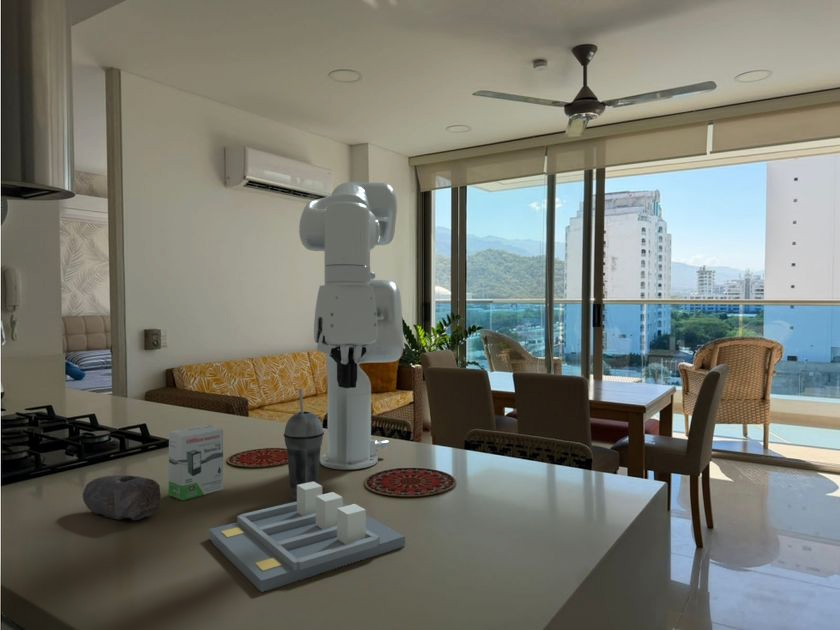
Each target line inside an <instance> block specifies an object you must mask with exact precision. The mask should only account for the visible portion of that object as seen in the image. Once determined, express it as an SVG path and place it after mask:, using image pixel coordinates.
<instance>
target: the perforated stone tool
mask: <svg viewBox="0 0 840 630" xmlns="http://www.w3.org/2000/svg"><path fill="white" fill-rule="evenodd" d="M161 497H162V495H161V486H160V484H159V483H158V482H157V481H156V480H154V479H151V478H148V477H141V476H138V475H137V476H135V475H120V474H119V475H118V474H117V475H105V476H100V477H97V478H94V479H92V480H90V481H89V482H88V483H87V484H86V485H85V487H84V489H83V492H82V500H83V502H84V505H85V506H86V508H87V509H88V510H89V511H91V512H92V513H94V514H96V515H103V516H104V517H106V518H109V519H113V520H115V519H116V520H119V521H120V520H123V519H128V518H129V519H131V520H132V521H140V520H142V519H144V518H149V517H151V516H152V515H154V513H156V512H157V511H158V510H159V508H160V506H161V502H162V499H161Z"/></svg>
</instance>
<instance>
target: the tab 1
mask: <svg viewBox="0 0 840 630" xmlns="http://www.w3.org/2000/svg"><path fill="white" fill-rule="evenodd" d="M322 494H323V485H321V484H319V483H318V484H317V483H315V482H314V481H313V482H309V483H304V484H299V485H297V500H296V502H297V513H299V514H300V515H302V516H305V515H309V514H313V513H316V496H318V495H322Z"/></svg>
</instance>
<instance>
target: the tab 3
mask: <svg viewBox="0 0 840 630" xmlns="http://www.w3.org/2000/svg"><path fill="white" fill-rule="evenodd" d="M347 505H348V506H344V507H340V508H337V539H338V540H339V541H341V542H342V543H344V544H348V543H352V542H355V541H359V540H362V539H365V538H366V515H367V513H366V512H367V509H365V508H363V507H362V506H360V505H358V504H356V503H353V504H350V505H349V504H347Z"/></svg>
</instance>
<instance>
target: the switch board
mask: <svg viewBox="0 0 840 630" xmlns="http://www.w3.org/2000/svg"><path fill="white" fill-rule="evenodd" d="M348 505H349V504H347V503H345V502H344V501H343V507H344V506H348ZM236 519H237V522H233V523H229V524H228V523H227V524H225V525H220V526H216V527H212V528H208V540H209V539H210V540H211V541H212V542H211V541H210V540H209V541H210V542H211V543H212V544H213V545H214V546H215V547H216V548H217V549H218V550H219V551H220V552H221V553H222V554H223V555H224V556H225V558H227V559H228V561H230V562H231V563H232V564H233V565H234V566H235V567H236V568H237V569H238V570H239V571H240V572H241V574H243V575H244V576H245V577H246V578H247V579H248V580H249V581H250V583H252V585H254V586H255V587H256V589H257V590H259V591H260V593H264V591H265V592H268V591H271V590H274V589H277V588H280V587H282V586H283V587H284V586H286V585H289V584H293V583H296V582H299V581H301V580H304V579H307V578H308V579H309V578H311V577H314V576H317V575H320V573H321V574H323V572H324V573H326V571H327V572H329V570H330V571H333V570H336V569H339V568H342V567H345V566H348V565H347V564H349V565H351V563H352V564H354V562H355V563H358V562H360V560H361V561H364V560H367V559H370V558H373V557H376V556H380V555H382V554H386V553H388V552H391V551H392V552H393V551H395V550H397V549H401V548H404V547H405V546H406V543H405V538H406V536H405V535H403V534H401V533H399V532H397V530H393V529H392V528H391V527H388V526H386V525H385V524H383V523H382V522H380V521H378V520H377V519H374V518H373V517H371V516H369V515H367V514H366V538H365V539H362V540H359V541H355V542H352V543H348V544H344V543H342V542H341V541H339V540H338V539H337V526H333V527H330V528H326V529H321V528H320V527H318V526H317V525H316V513H313V514H309V515H305V516H302V515H300V514H299V513H297V501H293V502H289V503H288V502H287V503H284V504H280V505H275V506H271V507H267V508H262V509H259V510H254V511H250V512H245V513H241V514H240V515H237V518H236ZM366 558H367V559H366ZM357 561H358V562H357ZM344 565H345V566H344ZM341 566H342V567H341ZM338 567H339V568H338ZM335 568H336V569H335ZM332 569H333V570H332ZM298 580H299V581H298Z"/></svg>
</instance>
